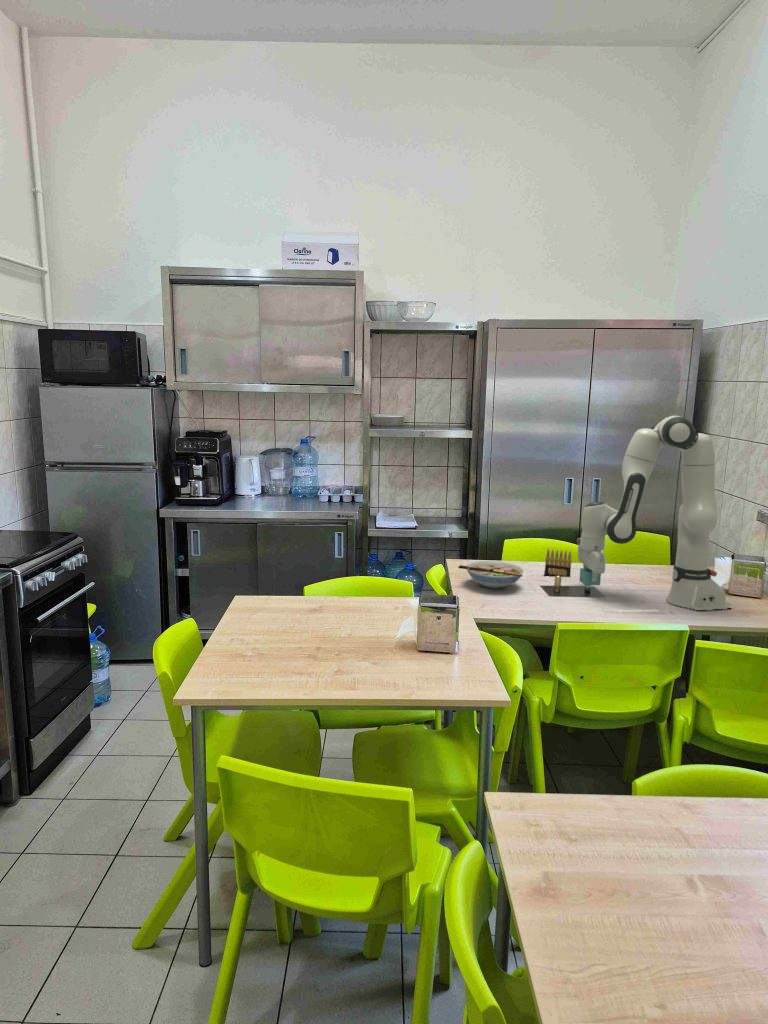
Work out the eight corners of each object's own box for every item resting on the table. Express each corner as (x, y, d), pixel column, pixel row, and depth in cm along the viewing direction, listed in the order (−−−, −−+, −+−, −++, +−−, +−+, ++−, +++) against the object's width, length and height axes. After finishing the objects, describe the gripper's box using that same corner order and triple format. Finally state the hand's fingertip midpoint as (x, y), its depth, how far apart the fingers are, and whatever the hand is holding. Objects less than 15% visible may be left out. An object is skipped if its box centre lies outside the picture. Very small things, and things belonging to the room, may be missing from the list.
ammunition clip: (570, 578, 285) (572, 550, 283) (570, 579, 283) (572, 551, 281) (544, 575, 288) (546, 547, 286) (543, 576, 286) (546, 548, 284)
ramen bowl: (531, 583, 275) (532, 564, 274) (517, 599, 255) (519, 578, 253) (472, 574, 286) (473, 555, 284) (454, 588, 265) (455, 568, 264)
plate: (593, 588, 271) (595, 571, 270) (606, 599, 257) (608, 581, 256) (539, 587, 270) (540, 570, 268) (549, 599, 256) (550, 580, 255)
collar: (594, 580, 266) (595, 568, 265) (600, 585, 260) (601, 572, 259) (579, 580, 266) (580, 568, 265) (584, 585, 260) (585, 572, 259)
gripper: (610, 550, 250) (608, 586, 252) (591, 537, 270) (589, 571, 272) (594, 550, 250) (591, 586, 252) (575, 538, 270) (573, 571, 272)
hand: (590, 578), depth 262 cm, fingers closed on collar, 6 cm apart
